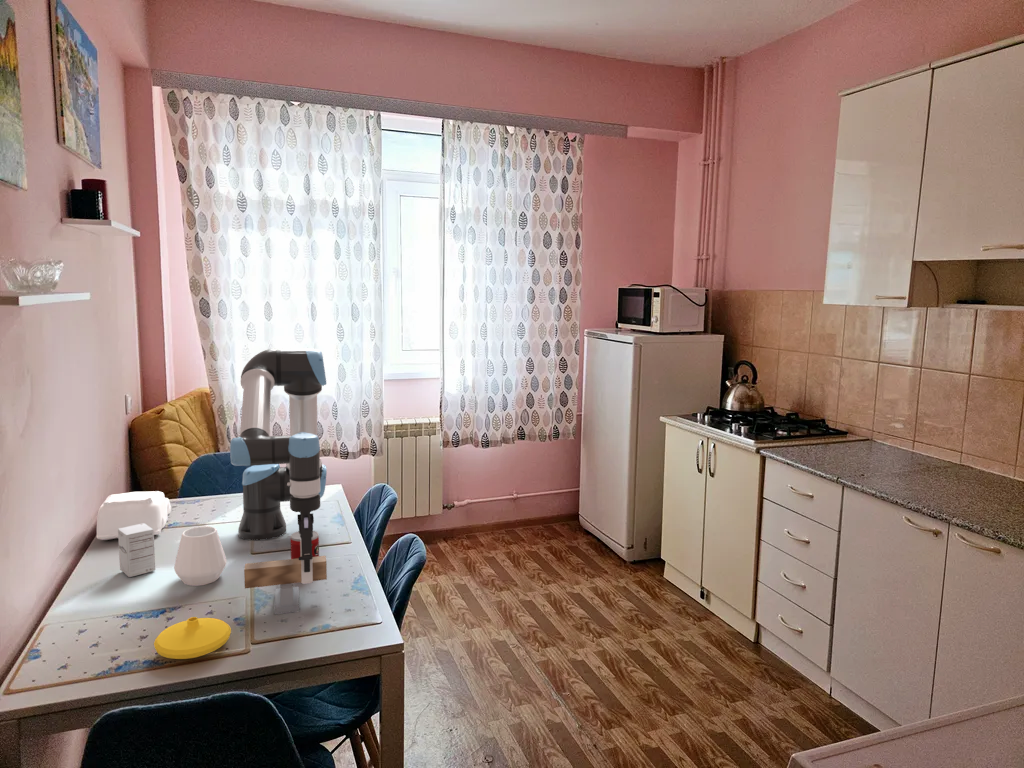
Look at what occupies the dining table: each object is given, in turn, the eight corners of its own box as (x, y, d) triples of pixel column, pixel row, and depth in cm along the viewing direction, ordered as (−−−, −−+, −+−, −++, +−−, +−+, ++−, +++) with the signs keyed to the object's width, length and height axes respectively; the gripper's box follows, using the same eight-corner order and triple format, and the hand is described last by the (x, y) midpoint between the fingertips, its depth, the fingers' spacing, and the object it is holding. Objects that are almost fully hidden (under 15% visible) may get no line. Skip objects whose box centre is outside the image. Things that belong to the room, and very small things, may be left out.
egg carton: (94, 545, 210) (91, 504, 209) (113, 516, 238) (111, 479, 237) (161, 538, 217) (159, 499, 216) (172, 511, 245) (171, 475, 243)
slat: (244, 588, 167) (244, 569, 167) (245, 582, 171) (245, 563, 170) (326, 579, 174) (326, 561, 173) (325, 573, 177) (325, 555, 177)
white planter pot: (163, 584, 183) (161, 535, 181) (201, 566, 195) (199, 520, 193) (201, 592, 178) (199, 542, 176) (237, 573, 190) (236, 527, 189)
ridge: (275, 594, 178) (274, 572, 177) (298, 591, 180) (298, 570, 179) (274, 614, 167) (273, 591, 166) (299, 611, 168) (299, 588, 168)
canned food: (311, 577, 189) (310, 540, 188) (285, 574, 190) (285, 537, 189) (324, 567, 196) (323, 531, 195) (299, 564, 198) (298, 529, 197)
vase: (178, 630, 158) (177, 602, 157) (243, 632, 157) (242, 604, 156) (139, 666, 142) (137, 635, 141) (210, 669, 142) (209, 638, 141)
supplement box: (119, 570, 191) (116, 528, 189) (147, 563, 196) (145, 522, 195) (128, 578, 186) (125, 534, 184) (156, 570, 191) (154, 528, 190)
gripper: (289, 481, 182) (291, 555, 184) (289, 509, 158) (291, 594, 161) (318, 480, 184) (319, 553, 187) (322, 507, 161) (323, 590, 163)
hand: (306, 572), depth 174 cm, fingers open, 13 cm apart
